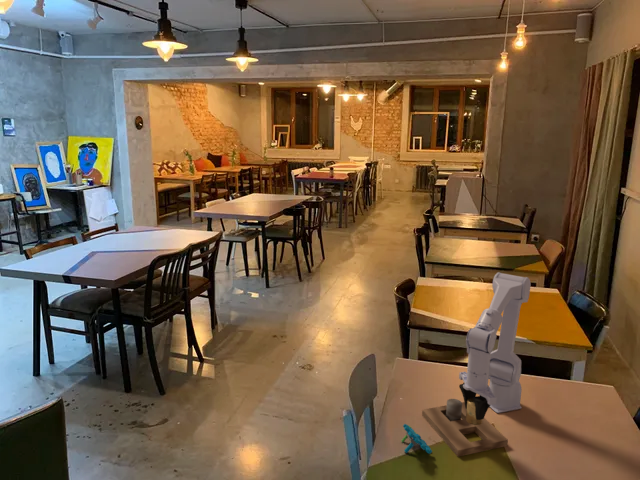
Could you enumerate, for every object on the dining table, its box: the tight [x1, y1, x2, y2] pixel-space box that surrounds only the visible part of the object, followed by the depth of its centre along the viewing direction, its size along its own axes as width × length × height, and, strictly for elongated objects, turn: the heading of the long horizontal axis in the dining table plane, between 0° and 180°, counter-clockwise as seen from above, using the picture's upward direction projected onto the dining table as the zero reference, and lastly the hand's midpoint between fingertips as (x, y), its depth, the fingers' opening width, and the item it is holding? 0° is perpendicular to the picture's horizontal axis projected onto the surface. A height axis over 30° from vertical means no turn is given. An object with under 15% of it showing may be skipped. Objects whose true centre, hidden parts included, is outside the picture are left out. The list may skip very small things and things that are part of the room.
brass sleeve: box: [466, 397, 483, 425], centre depth 133 cm, size 4×4×6 cm
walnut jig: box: [421, 398, 509, 458], centre depth 139 cm, size 16×20×6 cm
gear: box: [401, 423, 433, 455], centre depth 130 cm, size 11×6×10 cm
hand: (474, 413), depth 133 cm, fingers closed on brass sleeve, 4 cm apart
